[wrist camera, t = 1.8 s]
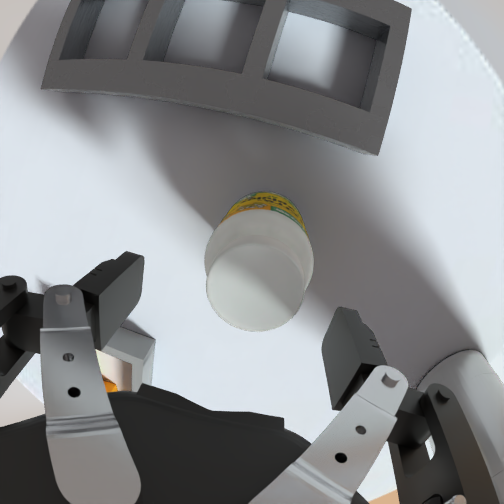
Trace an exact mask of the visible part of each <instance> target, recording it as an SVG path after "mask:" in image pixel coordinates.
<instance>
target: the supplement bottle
mask: <svg viewBox="0 0 504 504" xmlns="http://www.w3.org/2000/svg"><path fill="white" fill-rule="evenodd" d="M313 268H314V257H313V251H312V247H311V244H310V241H309V237H308V234H307V231H306V229H305V226H304V223H303V220H302V217H301V215H300V213H299V211H298V210H297V208H296V207H295V205H294V204H293V203H292V202H291V201H290V200H289V199H287V198H286V197H284V196H282V195H280V194H277V193H274V192H268V191H261V192H255V193H252V194H250V195H247V196H245V197H243V198H242V199H240V200H239V201H238V202H236V203H235V204H234V205H233V207H232V208H231V209H230V210H229V212H228V213H227V215H226V216H225V217H224V219H223V220H222V221H221V223H220V224H219V225H218V227H217V228H216V229H215V231H214V232H213V234H212V236H211V237H210V239H209V242H208V244H207V247H206V251H205V271H206V275H207V280H206V292H207V296H208V299H209V302H210V304H211V306H212V308H213V309H214V311H215V312H216V313H217V314H218V316H219V317H220V318H221V319H223V320H224V321H225V322H227V323H228V324H230V325H232V326H234V327H236V328H239V329H242V330H246V331H251V332H263V331H268V330H272V329H275V328H278V327H280V326H282V325H284V324H285V323H287V322H288V321H289V320H290V319H292V318H293V316H294V315H295V314H296V313H297V312H298V310H299V308H300V306H301V304H302V302H303V298H304V293H305V290H306V288H307V287H308V285H309V283H310V280H311V277H312V274H313Z"/></svg>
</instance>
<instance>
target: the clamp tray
mask: <svg viewBox="0 0 504 504" xmlns="http://www.w3.org/2000/svg"><path fill="white" fill-rule="evenodd" d="M154 349H155V339H152V338H149V337H146V336H144V335H141V334H138V333H136V332H133V331H130V330H128V329H125V328H122V327H119V328H118V330H117V331H116V332H115V334H114V335H113V336H112V338H111V339H110V340H109V342H108V343H107V344H106V346H105V347H104V348H103V350H102V352H104V353H106V354H109V355H111V356H113V357H116V358H118V359H120V360H123V361H125V362H128V363H130V364H132V391H134V392H138V390H139V388H140V386H141V384H142V383H145V384H148V385H150V386H151V383H152V370H153V359H154ZM99 351H100V350H99Z"/></svg>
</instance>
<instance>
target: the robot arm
mask: <svg viewBox="0 0 504 504" xmlns="http://www.w3.org/2000/svg"><path fill="white" fill-rule="evenodd" d="M143 271H144V256H142V255H138V254H135V253H131V252H128V251H126V252H124V253H123V254H122V255H121V256H119V257H118V258H117V259H116V260H114V259H111V260H108V261H105V262H102V263H101V264H99V265H98V266H97V267H95V269H93V270H92V271H90V272H89V273H88V274H87V275H85V276H84V277H83V278H82V279H80V280H79V281H78V282H77V283H75V284H74V285H73V286H71V285H56V286H53V287H51V288H49V289H48V290H47V291H46V292H45V294H44V295H43V294H37V293H31V292H28V290H27V283H26V281H25V280H24V279H23V278H22V277H19V276H5V277H2V278H0V327H2V331H3V334H4V335H3V336H2V337H1V338H0V398H1V397H2V395H3V394H4V393H5V391H6V390H7V389H8V387H9V386H10V385H11V383H12V382H13V381H14V379H15V378H16V377H17V375H18V374H19V373H20V372H21V370H22V369H23V368H24V367H25V365H26V364H27V363H28V362H29V360H30V359H31V358H32V357H33V355H34V354H35V353H38V354H40V356H41V375H42V388H43V398H44V406H45V414H43V415H40V416H37V417H34V418H30V419H27V420H24V421H21V422H17V423H14V424H10V425H7V426H4V427H0V504H369V503H368V502H367V501H366V500H365V499H364V498H363V497H362V496H361V495H360V494H359V493H358V492H357V491H356V490H357V489H358V487H359V486H360V484H361V483H362V481H363V480H364V478H365V476H366V475H367V473H368V472H369V470H370V468H371V467H372V465H373V463H374V462H375V460H376V458H377V456H378V455H379V453H380V451H381V449H382V448H383V446H384V444H385V442H386V441H387V442H388V445H389V449H390V454H391V459H392V464H393V469H394V474H395V479H396V485H397V490H398V496H399V502H400V504H504V384H503V383H502V381H501V380H500V378H499V377H498V375H497V374H496V373H495V371H494V370H493V368H492V367H491V366H490V364H489V363H488V362H487V360H486V359H485V358H484V356H483V355H482V354H481V353H480V352H478V351H475V350H465V351H462V352H458V353H456V354H454V355H452V356H450V357H448V358H446V359H445V360H443V361H442V362H440V363H439V364H438V365H436V366H435V367H434V368H433V369H432V370H431V371H430V372H429V373H428V374H427V375H426V376H425V377H424V379H423V380H422V381H421V383H420V384H419V386H418V388H417V390H414V389H412V388H409V387H408V381H407V379H406V377H405V376H404V375H403V374H402V373H401V372H400V371H398V370H397V369H395V368H393V367H390V366H388V365H387V363H386V360H385V358H384V356H383V353H382V351H381V349H380V348H379V345H378V342H376V338H375V336H374V334H373V332H372V331H371V330H370V329H369V328H368V327H367V326H366V325H365V324H363V323H362V321H361V319H360V316H359V314H358V312H357V311H356V310H352V309H347V308H343V307H339V308H338V309H337V310H336V312H335V314H334V316H333V319H332V321H331V323H330V326H329V328H328V330H327V332H326V334H325V337H324V339H323V343H322V356H323V361H324V366H325V372H326V377H327V382H328V388H329V393H330V399H331V405H332V410H338V411H340V412H339V414H338V415H337V416H336V417H335V418H334V420H333V421H332V422H331V423H330V424H329V425H328V427H327V428H326V429H325V430H324V431H323V432H322V433H321V435H320V436H319V437H318V438H317V439H316V440H315V441H314V442H313V443H312V444H311V443H310V442H308V441H307V440H306V439H304V438H303V437H301V436H299V435H298V434H296V433H294V432H292V431H290V430H287V429H285V428H284V418H281V417H275V416H269V415H264V414H258V413H253V412H229V411H212V410H208V409H206V408H204V407H202V406H200V405H198V404H196V403H194V402H192V401H190V400H188V399H186V398H184V397H182V396H180V395H178V394H176V393H172V392H169V391H166V390H163V389H160V388H157V387H154V386H150V385H148V384H145V383H142V384H141V386H140V388H139V390H138V392H134V391H115V392H108V393H107V392H106V389H105V385H104V382H103V378H102V374H101V371H100V367H99V363H98V359H97V355H96V351H95V349H97V350H100V351H102V350H103V348H104V347H105V346H106V344H107V343H108V342H109V340H110V339H111V338H112V336H113V335H114V334H115V332H116V331H117V330H118V328H119V327H120V326H121V324H122V323H123V322H124V320H125V319H126V318H127V317H128V315H129V314H130V313H131V311H132V310H133V309H134V308H135V306H136V305H137V304H138V302H139V299H140V296H141V292H142V281H143ZM427 439H429V442H430V445H431V448H432V450H433V453H434V456H433V458H432V459H431V460H430V458H429V455H428V452H427V448H426V445H425V441H426V440H427Z"/></svg>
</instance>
